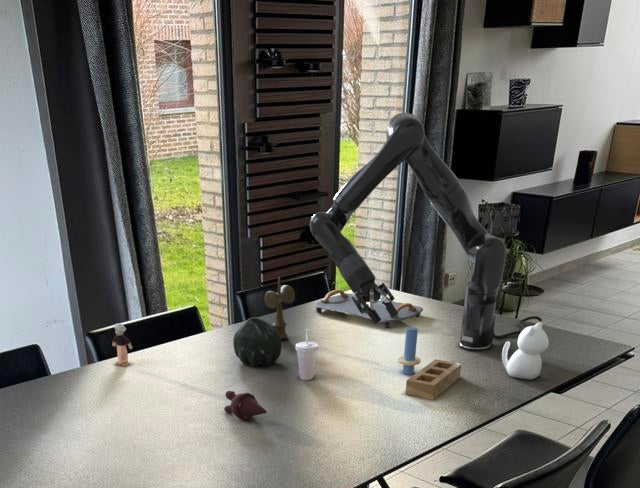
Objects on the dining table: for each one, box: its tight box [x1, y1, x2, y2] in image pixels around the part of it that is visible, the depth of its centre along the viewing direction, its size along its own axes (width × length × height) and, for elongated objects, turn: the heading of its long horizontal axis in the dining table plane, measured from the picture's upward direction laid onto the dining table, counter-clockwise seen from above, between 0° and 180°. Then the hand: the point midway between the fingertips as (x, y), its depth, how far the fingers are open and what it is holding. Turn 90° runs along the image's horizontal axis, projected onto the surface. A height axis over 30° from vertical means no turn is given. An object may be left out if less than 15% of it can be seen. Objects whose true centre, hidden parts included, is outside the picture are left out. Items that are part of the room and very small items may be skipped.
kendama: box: [264, 276, 296, 341], centre depth 238 cm, size 6×10×20 cm, turn 141°
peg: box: [397, 326, 422, 376], centre depth 208 cm, size 6×6×13 cm
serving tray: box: [313, 289, 424, 329], centre depth 264 cm, size 39×23×6 cm, turn 45°
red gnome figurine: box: [223, 390, 268, 421], centre depth 184 cm, size 7×7×15 cm
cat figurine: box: [501, 321, 550, 381], centre depth 203 cm, size 9×12×15 cm
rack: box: [405, 358, 462, 401], centre depth 201 cm, size 20×8×4 cm, turn 146°
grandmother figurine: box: [112, 323, 133, 367], centre depth 221 cm, size 8×4×13 cm, turn 68°
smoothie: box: [295, 328, 319, 381], centre depth 206 cm, size 6×6×14 cm
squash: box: [232, 316, 283, 367], centre depth 219 cm, size 14×15×15 cm
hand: (387, 319), depth 209 cm, fingers open, 8 cm apart
